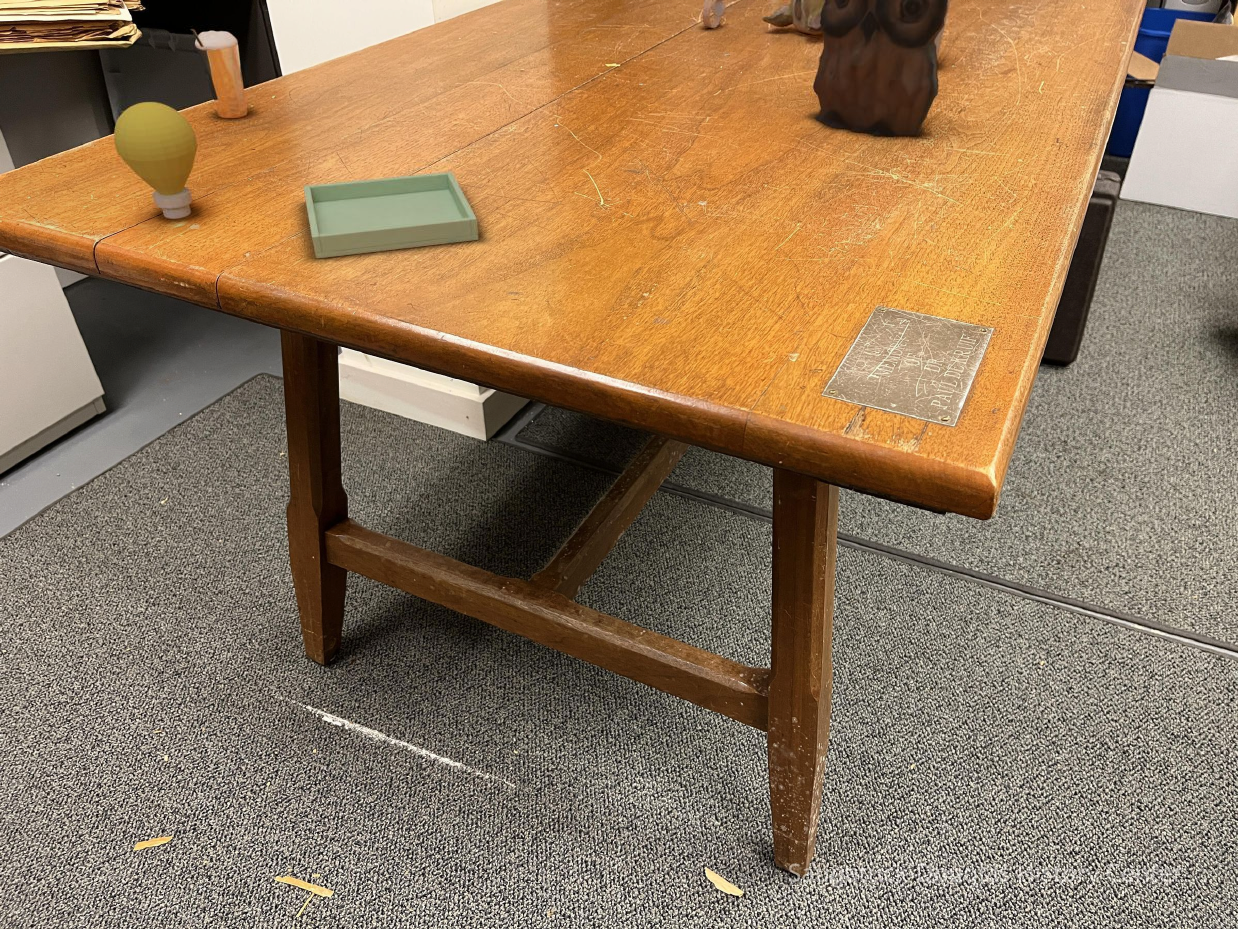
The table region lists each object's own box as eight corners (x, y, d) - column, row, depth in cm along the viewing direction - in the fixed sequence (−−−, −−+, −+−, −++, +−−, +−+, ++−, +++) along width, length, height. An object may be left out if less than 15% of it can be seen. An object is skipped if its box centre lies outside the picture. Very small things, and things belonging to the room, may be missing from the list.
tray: (316, 258, 78) (311, 236, 77) (307, 205, 87) (303, 185, 86) (478, 239, 82) (477, 218, 80) (453, 191, 91) (451, 171, 89)
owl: (931, 138, 107) (976, -55, 94) (828, 141, 105) (860, -55, 93) (892, 106, 116) (927, -73, 104) (797, 108, 115) (822, -73, 103)
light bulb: (122, 220, 83) (85, 108, 77) (175, 195, 88) (144, 88, 82) (179, 232, 81) (146, 119, 75) (230, 206, 86) (203, 98, 80)
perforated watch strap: (724, 25, 151) (727, -8, 148) (711, 31, 147) (714, -3, 144) (710, 23, 152) (712, -10, 149) (697, 28, 148) (699, -5, 145)
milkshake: (199, 119, 107) (176, 27, 101) (231, 106, 111) (210, 17, 105) (230, 124, 105) (208, 31, 99) (261, 111, 109) (241, 21, 103)
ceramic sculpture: (874, -29, 144) (816, -12, 136) (866, 29, 149) (810, 49, 142) (821, -38, 150) (761, -22, 142) (815, 18, 155) (758, 37, 148)
